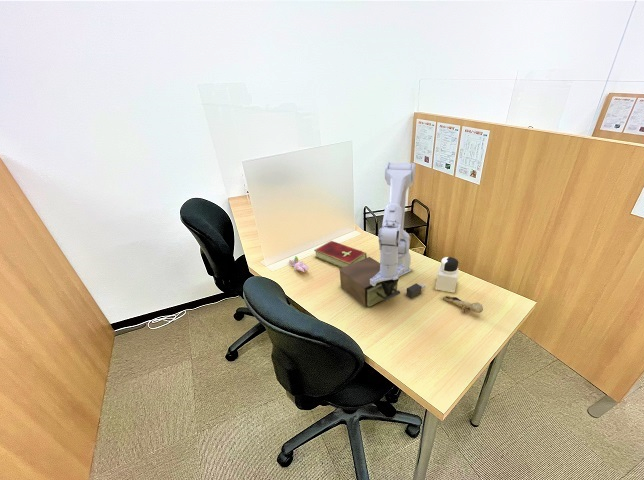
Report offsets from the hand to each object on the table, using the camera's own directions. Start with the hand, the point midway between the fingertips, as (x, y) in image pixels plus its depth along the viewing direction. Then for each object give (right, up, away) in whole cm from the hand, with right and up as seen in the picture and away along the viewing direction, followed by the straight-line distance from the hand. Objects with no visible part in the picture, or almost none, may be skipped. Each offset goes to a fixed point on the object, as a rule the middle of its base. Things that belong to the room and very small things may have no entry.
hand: (387, 294), depth 102 cm
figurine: (+26, -5, 0) cm, 27 cm away
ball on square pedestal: (+24, +3, +11) cm, 26 cm away
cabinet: (-7, +1, +10) cm, 13 cm away
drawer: (-4, 0, +7) cm, 8 cm away
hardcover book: (-19, +15, +31) cm, 39 cm away
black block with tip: (+12, 0, +8) cm, 14 cm away
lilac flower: (-36, +10, +24) cm, 45 cm away
